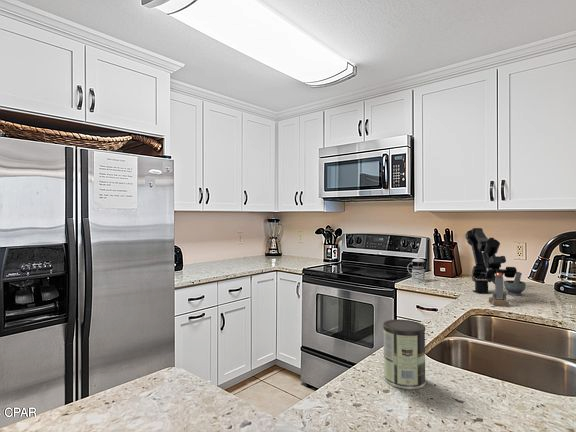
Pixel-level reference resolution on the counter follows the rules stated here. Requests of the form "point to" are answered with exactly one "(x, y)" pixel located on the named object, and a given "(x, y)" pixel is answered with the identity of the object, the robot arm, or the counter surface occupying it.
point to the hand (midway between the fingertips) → (497, 285)
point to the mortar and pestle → (515, 285)
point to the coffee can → (404, 354)
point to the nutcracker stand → (498, 300)
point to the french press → (422, 271)
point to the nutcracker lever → (499, 285)
